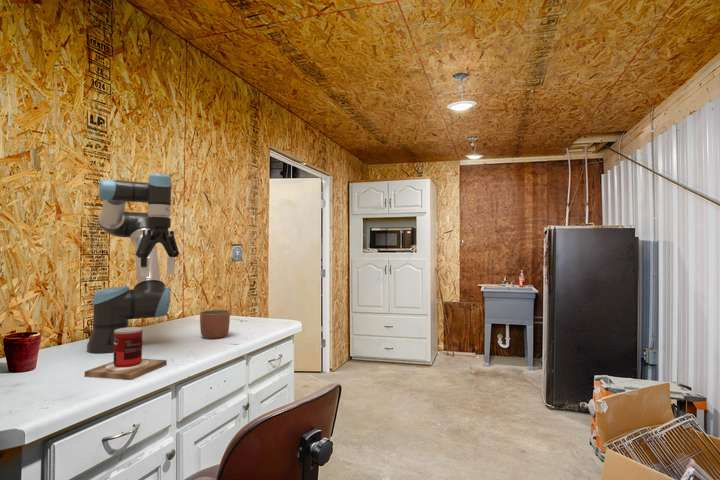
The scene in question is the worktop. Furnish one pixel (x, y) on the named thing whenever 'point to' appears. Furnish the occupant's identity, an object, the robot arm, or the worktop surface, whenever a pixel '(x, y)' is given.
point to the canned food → (127, 346)
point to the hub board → (125, 370)
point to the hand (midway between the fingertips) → (158, 275)
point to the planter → (214, 323)
